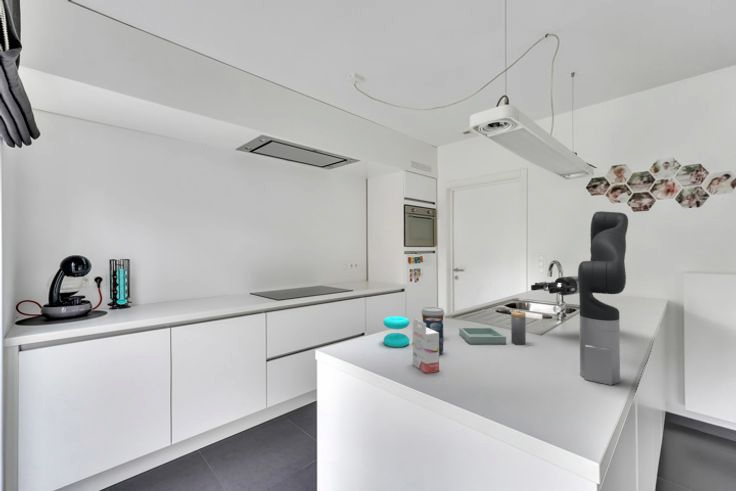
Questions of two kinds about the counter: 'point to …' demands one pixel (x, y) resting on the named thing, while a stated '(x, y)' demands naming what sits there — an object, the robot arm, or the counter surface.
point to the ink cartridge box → (425, 347)
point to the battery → (518, 328)
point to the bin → (482, 336)
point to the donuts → (396, 338)
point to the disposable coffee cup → (432, 313)
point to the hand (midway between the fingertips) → (540, 289)
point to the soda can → (436, 329)
